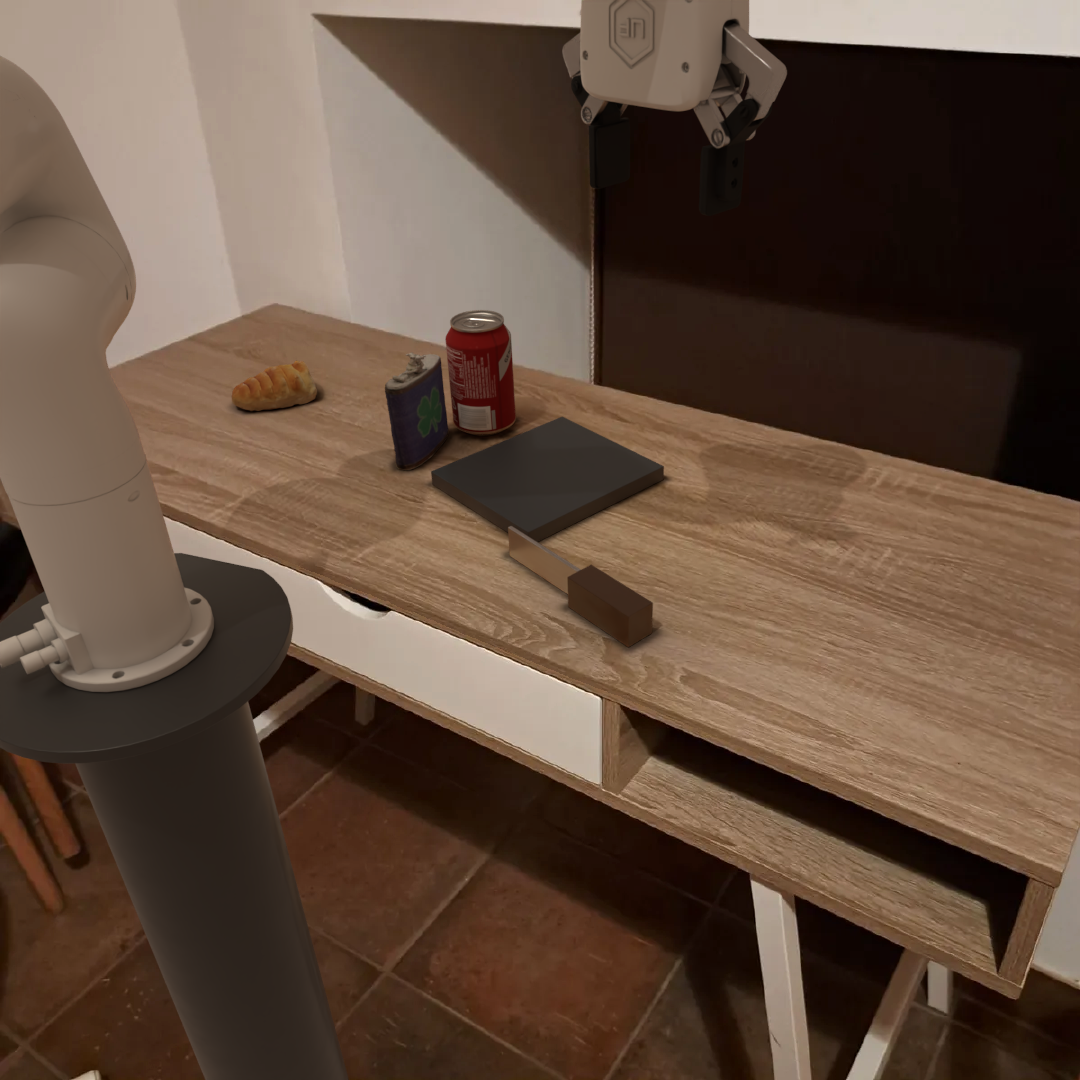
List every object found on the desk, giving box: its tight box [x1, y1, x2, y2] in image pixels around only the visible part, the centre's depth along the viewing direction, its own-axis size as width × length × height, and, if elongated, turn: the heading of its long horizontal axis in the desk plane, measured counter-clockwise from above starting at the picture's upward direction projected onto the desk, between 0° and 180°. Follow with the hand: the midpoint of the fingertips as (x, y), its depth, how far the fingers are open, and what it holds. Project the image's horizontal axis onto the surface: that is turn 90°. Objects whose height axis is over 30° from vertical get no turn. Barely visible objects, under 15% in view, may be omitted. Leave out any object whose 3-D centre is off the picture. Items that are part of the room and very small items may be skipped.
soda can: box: [444, 309, 517, 437], centre depth 106 cm, size 7×7×12 cm
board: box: [430, 416, 665, 543], centre depth 98 cm, size 17×15×2 cm
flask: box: [384, 351, 449, 471], centre depth 102 cm, size 9×3×11 cm, turn 157°
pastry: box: [231, 360, 318, 412], centre depth 116 cm, size 9×7×4 cm
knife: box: [507, 526, 654, 648], centre depth 82 cm, size 16×3×3 cm, turn 40°
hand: (662, 196), depth 65 cm, fingers open, 9 cm apart
